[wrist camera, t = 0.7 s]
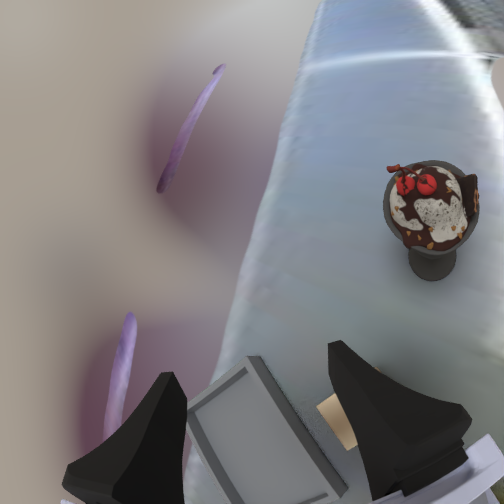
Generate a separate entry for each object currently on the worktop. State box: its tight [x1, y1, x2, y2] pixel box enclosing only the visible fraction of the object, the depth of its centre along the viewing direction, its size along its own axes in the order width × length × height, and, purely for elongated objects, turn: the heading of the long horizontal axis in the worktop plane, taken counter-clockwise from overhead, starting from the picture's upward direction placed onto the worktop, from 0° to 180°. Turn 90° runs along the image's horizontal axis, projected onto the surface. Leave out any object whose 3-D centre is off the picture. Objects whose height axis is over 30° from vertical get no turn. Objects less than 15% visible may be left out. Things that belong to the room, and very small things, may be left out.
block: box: [316, 367, 381, 451], centre depth 18 cm, size 4×4×6 cm
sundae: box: [383, 160, 479, 281], centre depth 16 cm, size 7×7×15 cm
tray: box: [186, 356, 348, 504], centre depth 23 cm, size 18×13×2 cm
